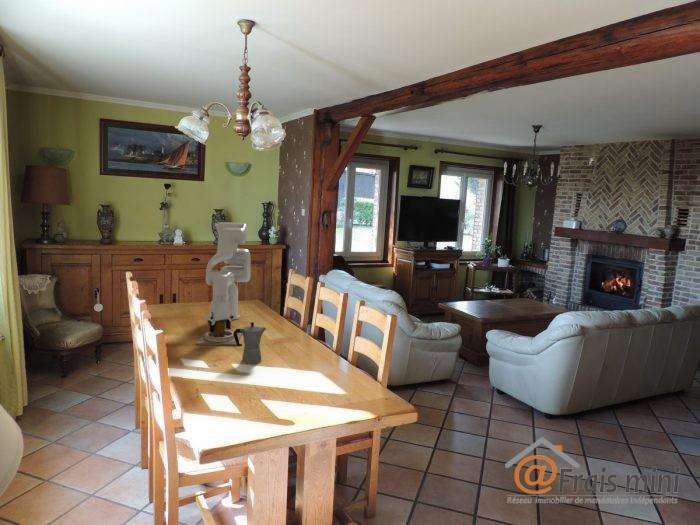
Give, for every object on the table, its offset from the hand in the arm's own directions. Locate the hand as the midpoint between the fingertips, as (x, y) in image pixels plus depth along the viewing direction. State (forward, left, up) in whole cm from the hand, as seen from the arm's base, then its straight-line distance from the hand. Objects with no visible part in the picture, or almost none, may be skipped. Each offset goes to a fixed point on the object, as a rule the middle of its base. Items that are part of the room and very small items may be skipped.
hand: (220, 330), depth 254 cm
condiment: (0, 0, -4) cm, 4 cm away
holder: (0, 0, -5) cm, 5 cm away
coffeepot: (+31, +19, -5) cm, 37 cm away
